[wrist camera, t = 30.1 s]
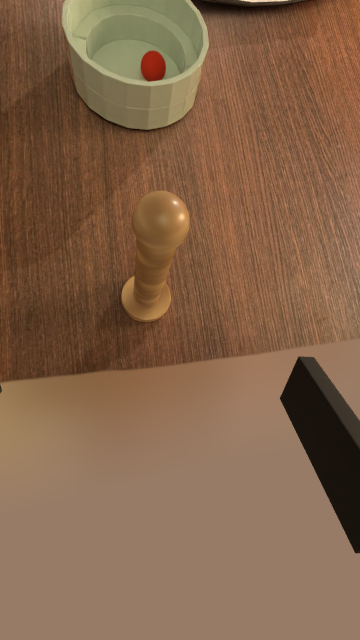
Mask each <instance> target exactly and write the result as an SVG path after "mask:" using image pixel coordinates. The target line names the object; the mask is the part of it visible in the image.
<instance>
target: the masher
mask: <svg viewBox="0 0 360 640" xmlns="http://www.w3.org/2000/svg"><path fill="white" fill-rule="evenodd" d="M132 226H133V230H134V233H135V235H136V237H137V240H136V258H135V276H133V277H131V278H130V279H129V280H128V281H127V282H126V283H125V285H124V287H123V289H122V293H121V299H122V306H123V308H124V310H125V312H126V313H127V314H128V315H129V316H130V317H131V318H132V319H134V320H136V321H139V322H153V321H156V320H158V319H159V318H161V317H162V316H163V315H164V314H165V312H166V311H167V309H168V307H169V304H170V300H171V295H170V290H169V288H168V286H167V284H166V283H165V280H166V277H167V275H168V272H169V269H170V266H171V263H172V260H173V258H174V255H175V252H176V249H177V246H179V245H180V244H181V243H182V242H183V241H184V239H185V238H186V236H187V234H188V231H189V226H190V217H189V213H188V210H187V208H186V206H185V204H184V203H183V201H182V200H181V199H180V198H178V197H177V196H176V195H174V194H172V193H170V192H166V191H155V192H151V193H149V194H147V195H145V196H144V197H142V198H141V199H140V200H139V202H138V203H137V204H136V206H135V208H134V211H133V215H132Z"/></svg>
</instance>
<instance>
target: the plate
mask: <svg viewBox="0 0 360 640" xmlns="http://www.w3.org/2000/svg"><path fill="white" fill-rule="evenodd" d="M202 1H209V2H216V3H224V4H231V5H239V6H246V7H254V6H273V5H284V4H290V3H297V2H303V1H308V0H202Z"/></svg>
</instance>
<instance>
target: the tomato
mask: <svg viewBox="0 0 360 640" xmlns="http://www.w3.org/2000/svg"><path fill="white" fill-rule="evenodd" d="M141 72H142V75H143V77H144V78H145V79H146V80H147V81H148V82H151V81H158V80H162V79H163V77H164V75H165V72H166V63H165V60H164V58H163V56H162V55H161V54H160V53H159V52H157V51H153V50H151V51H148V52H147V53H145V54H144V56H143V57H142V60H141Z"/></svg>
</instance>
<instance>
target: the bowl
mask: <svg viewBox="0 0 360 640" xmlns="http://www.w3.org/2000/svg"><path fill="white" fill-rule="evenodd" d="M62 28H63V33H64V39H65V44H66V50H67V55H68V60H69V66H70V71H71V76H72V79H73V82H74V85H75V88H76V90H77V93H78V94H79V95H80V97H81V98H82V99H83V100H84V102H85V103H86V104H87V105H88V107H89V108H90V109H92V110H93V111H95V112H96V113H97V114H99V115H100V116H102V117H103V118H104V119H106V120H108V121H111V122H114V123H116V124H119V125H121V126H124V127H127V128H135V129H144V130H149V129H155V128H161V127H166V126H168V125H170V124H172V123H174V122H176V121H178V120H180V119H182V118H183V117H184V116H185V115H186V113H187V112H188V111H189V110H190V109H191V108H192V107H193V104H194V102H195V99H196V96H197V93H198V89H199V85H200V81H201V76H202V72H203V68H204V64H205V59H206V55H207V51H208V46H209V45H208V30H207V27H206V25H205V22H204V20H203V18H202V16H201V13H200V12H199V10H198V9H197V8H196V7H195V6H194V4H193V3H192V2H191V1H190V0H65V2H64V3H63V9H62ZM151 50H153V51H157V52H159V53H160V54H161V55H162V56H163V58H164V60H165V63H166V72H165V75H164V77H163V79H162V80H158V81H151V82H148V81H147V80H146V79H145V78H144V77H143V75H142V72H141V60H142V57H143V56H144V54H145V53H147V52H148V51H151Z"/></svg>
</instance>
